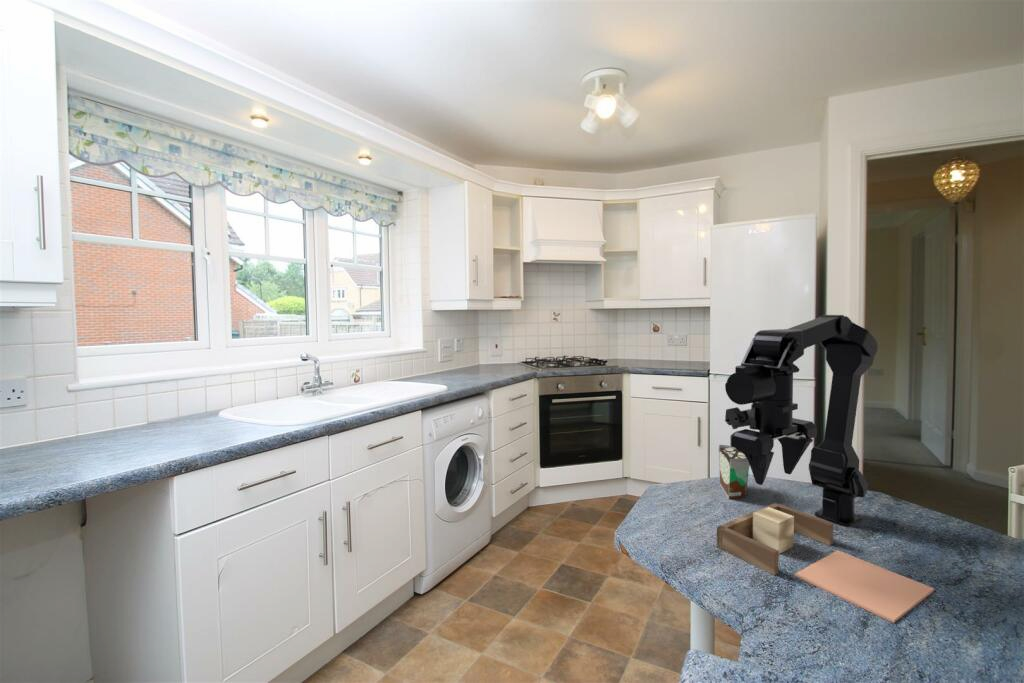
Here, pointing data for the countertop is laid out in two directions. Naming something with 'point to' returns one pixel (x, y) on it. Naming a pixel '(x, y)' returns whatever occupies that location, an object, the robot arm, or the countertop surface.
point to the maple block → (774, 529)
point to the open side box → (760, 555)
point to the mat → (865, 585)
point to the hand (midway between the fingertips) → (773, 478)
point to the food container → (733, 472)
